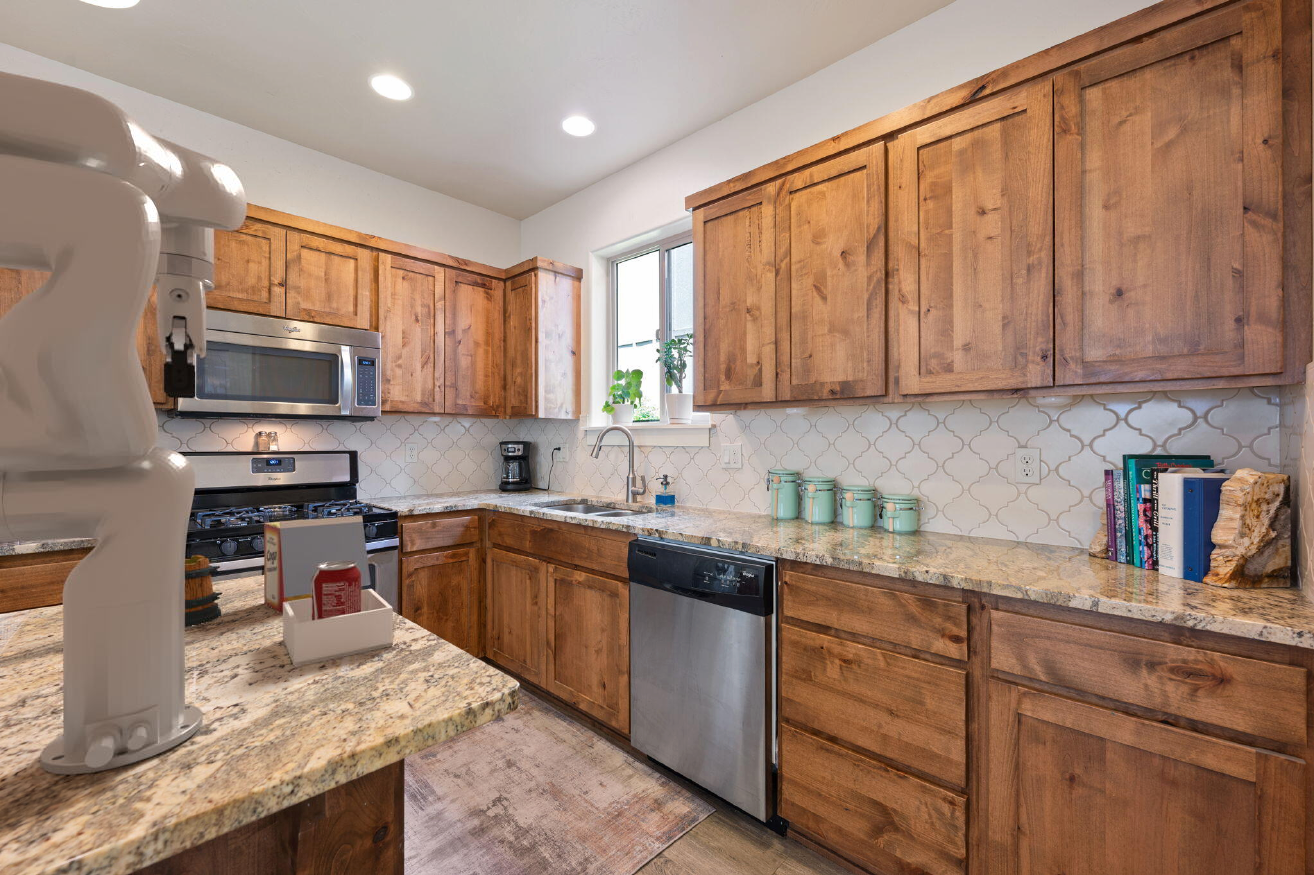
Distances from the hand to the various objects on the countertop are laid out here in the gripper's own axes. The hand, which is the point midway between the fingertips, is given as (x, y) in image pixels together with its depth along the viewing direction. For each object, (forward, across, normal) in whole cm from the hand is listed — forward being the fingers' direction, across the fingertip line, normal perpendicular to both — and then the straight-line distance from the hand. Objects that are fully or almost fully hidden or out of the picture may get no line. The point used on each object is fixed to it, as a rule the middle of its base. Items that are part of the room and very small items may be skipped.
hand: (180, 396), depth 81 cm
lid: (+26, +7, -19) cm, 33 cm away
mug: (+39, +26, +1) cm, 47 cm away
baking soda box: (+38, +26, -16) cm, 49 cm away
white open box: (+38, -3, -19) cm, 43 cm away
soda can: (+38, -4, -19) cm, 42 cm away
